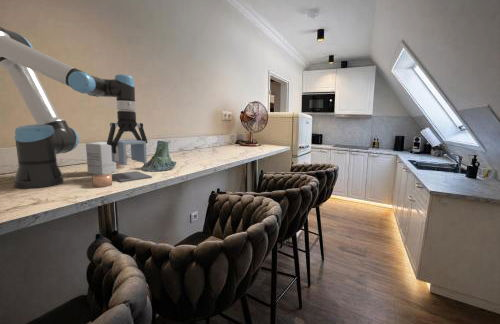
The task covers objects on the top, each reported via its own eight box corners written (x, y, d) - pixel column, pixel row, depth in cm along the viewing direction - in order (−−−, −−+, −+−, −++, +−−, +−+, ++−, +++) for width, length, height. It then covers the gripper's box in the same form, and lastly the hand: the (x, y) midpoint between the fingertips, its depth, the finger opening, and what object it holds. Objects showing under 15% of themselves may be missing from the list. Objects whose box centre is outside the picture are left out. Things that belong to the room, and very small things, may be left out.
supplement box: (102, 170, 128) (101, 141, 126) (116, 171, 126) (115, 142, 124) (87, 173, 120) (84, 143, 117) (102, 175, 117) (100, 144, 115)
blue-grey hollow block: (112, 161, 116) (110, 140, 114) (133, 159, 123) (132, 139, 122) (124, 165, 107) (123, 142, 105) (146, 162, 114) (145, 141, 113)
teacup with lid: (114, 169, 132) (113, 147, 130) (103, 167, 135) (102, 146, 134) (133, 166, 142) (132, 146, 140) (122, 164, 146) (122, 144, 144)
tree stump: (131, 170, 132) (135, 137, 134) (157, 173, 151) (160, 144, 153) (159, 172, 126) (163, 138, 128) (182, 174, 145) (185, 144, 147)
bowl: (91, 184, 100) (90, 175, 100) (108, 182, 105) (108, 173, 105) (96, 188, 96) (95, 178, 95) (114, 185, 101) (114, 175, 100)
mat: (107, 176, 116) (106, 174, 116) (136, 172, 127) (136, 171, 127) (120, 182, 106) (120, 180, 106) (151, 177, 116) (151, 176, 116)
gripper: (101, 109, 100) (105, 163, 104) (154, 112, 117) (155, 158, 121) (95, 109, 105) (99, 160, 109) (146, 112, 122) (148, 156, 126)
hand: (129, 159), depth 115 cm, fingers closed on blue-grey hollow block, 10 cm apart
